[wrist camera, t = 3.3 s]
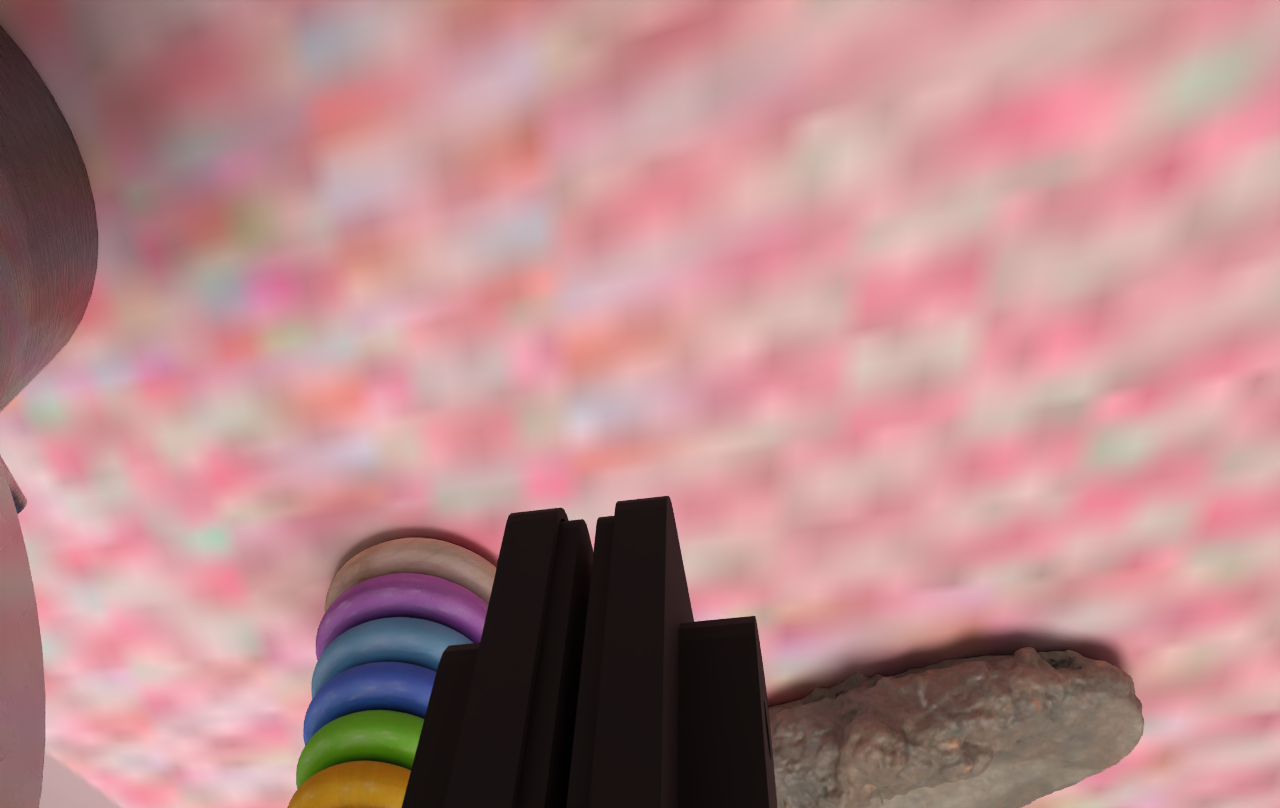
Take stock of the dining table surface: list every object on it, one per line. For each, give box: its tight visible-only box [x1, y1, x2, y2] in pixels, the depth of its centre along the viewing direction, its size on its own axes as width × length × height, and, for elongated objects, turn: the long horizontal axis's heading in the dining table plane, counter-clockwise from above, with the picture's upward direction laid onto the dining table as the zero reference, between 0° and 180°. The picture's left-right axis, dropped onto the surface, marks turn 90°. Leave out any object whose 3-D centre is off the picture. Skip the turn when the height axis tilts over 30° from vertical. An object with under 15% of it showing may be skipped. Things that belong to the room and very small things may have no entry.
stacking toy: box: [288, 538, 496, 808], centre depth 36 cm, size 8×8×19 cm
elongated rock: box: [768, 647, 1144, 808], centre depth 48 cm, size 35×5×10 cm
